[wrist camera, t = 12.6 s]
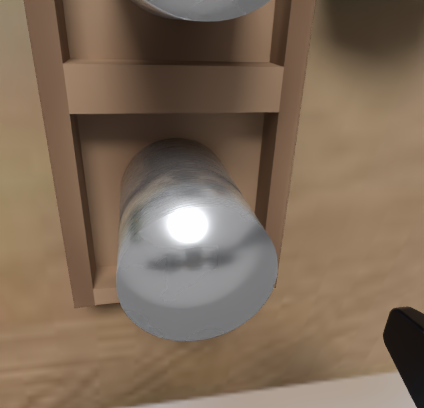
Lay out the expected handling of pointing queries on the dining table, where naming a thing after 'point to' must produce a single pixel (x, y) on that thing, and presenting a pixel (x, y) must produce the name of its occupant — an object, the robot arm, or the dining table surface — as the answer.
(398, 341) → the robot arm
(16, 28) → the dining table surface
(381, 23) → the dining table surface
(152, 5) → the seated billet
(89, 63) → the pallet
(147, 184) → the billet
